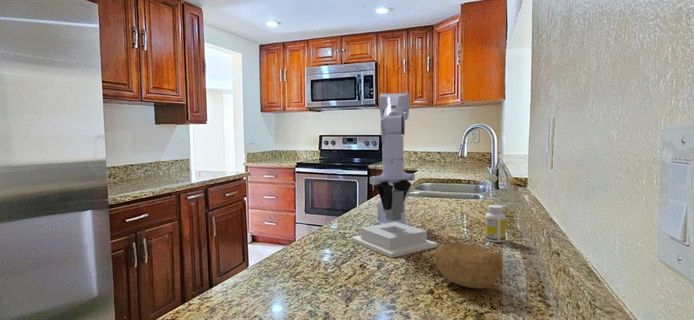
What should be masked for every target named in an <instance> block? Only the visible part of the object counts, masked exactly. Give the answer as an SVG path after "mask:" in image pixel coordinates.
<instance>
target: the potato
mask: <svg viewBox="0 0 694 320" xmlns="http://www.w3.org/2000/svg"><path fill="white" fill-rule="evenodd" d="M434 251H435V252H434V255H433V256H434V260H435V264H436V268H437V269H438V271H439V272H440V274H441V275H442V276H443V278H445V279H446V280H448V281H449V282H451V283H454V284H457V285H459V286H462V287H464V288H468V289H478V290H482V289H487V288H489V287H491V286H493V285H494V284H495V283H496V282H497V281H498V279H499V277H500V276H501V275H502V272H503V269H504V262H503V259H502V258H501V257H500V256H499V254H497V253H495V252H494V251H492V250H488V249H484V248H482V247H478V246H476V245H472V244H461V243H456V242H455V243H454V242H452V243H451V242H450V243H445V244H442V245H439V246H437V247H436V249H435V250H434Z"/></svg>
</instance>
